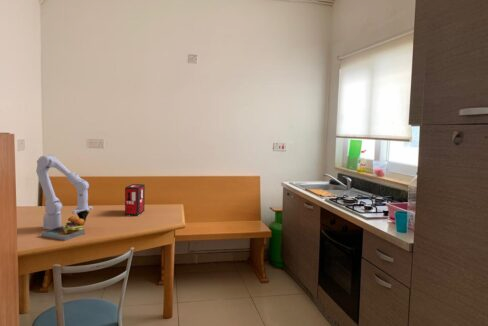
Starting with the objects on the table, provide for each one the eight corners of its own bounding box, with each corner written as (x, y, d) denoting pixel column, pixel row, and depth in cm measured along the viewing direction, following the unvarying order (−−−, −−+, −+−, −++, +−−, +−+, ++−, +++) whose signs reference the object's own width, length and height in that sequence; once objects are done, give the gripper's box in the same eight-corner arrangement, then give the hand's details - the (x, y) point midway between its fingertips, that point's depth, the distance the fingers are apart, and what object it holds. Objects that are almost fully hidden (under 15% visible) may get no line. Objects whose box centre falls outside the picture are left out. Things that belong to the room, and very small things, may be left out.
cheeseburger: (59, 232, 217) (62, 214, 218) (75, 232, 226) (79, 216, 227) (69, 235, 212) (72, 217, 213) (85, 235, 220) (89, 218, 222)
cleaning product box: (132, 210, 278) (132, 184, 276) (144, 211, 278) (144, 184, 276) (124, 215, 261) (125, 187, 260) (137, 216, 261) (137, 188, 259)
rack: (41, 236, 208) (41, 231, 208) (62, 230, 222) (62, 225, 222) (64, 240, 202) (64, 235, 202) (84, 233, 216) (84, 228, 216)
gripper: (78, 204, 216) (79, 227, 218) (96, 199, 230) (96, 221, 231) (69, 202, 219) (69, 225, 220) (87, 198, 232) (87, 220, 234)
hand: (82, 223), depth 226 cm, fingers closed
